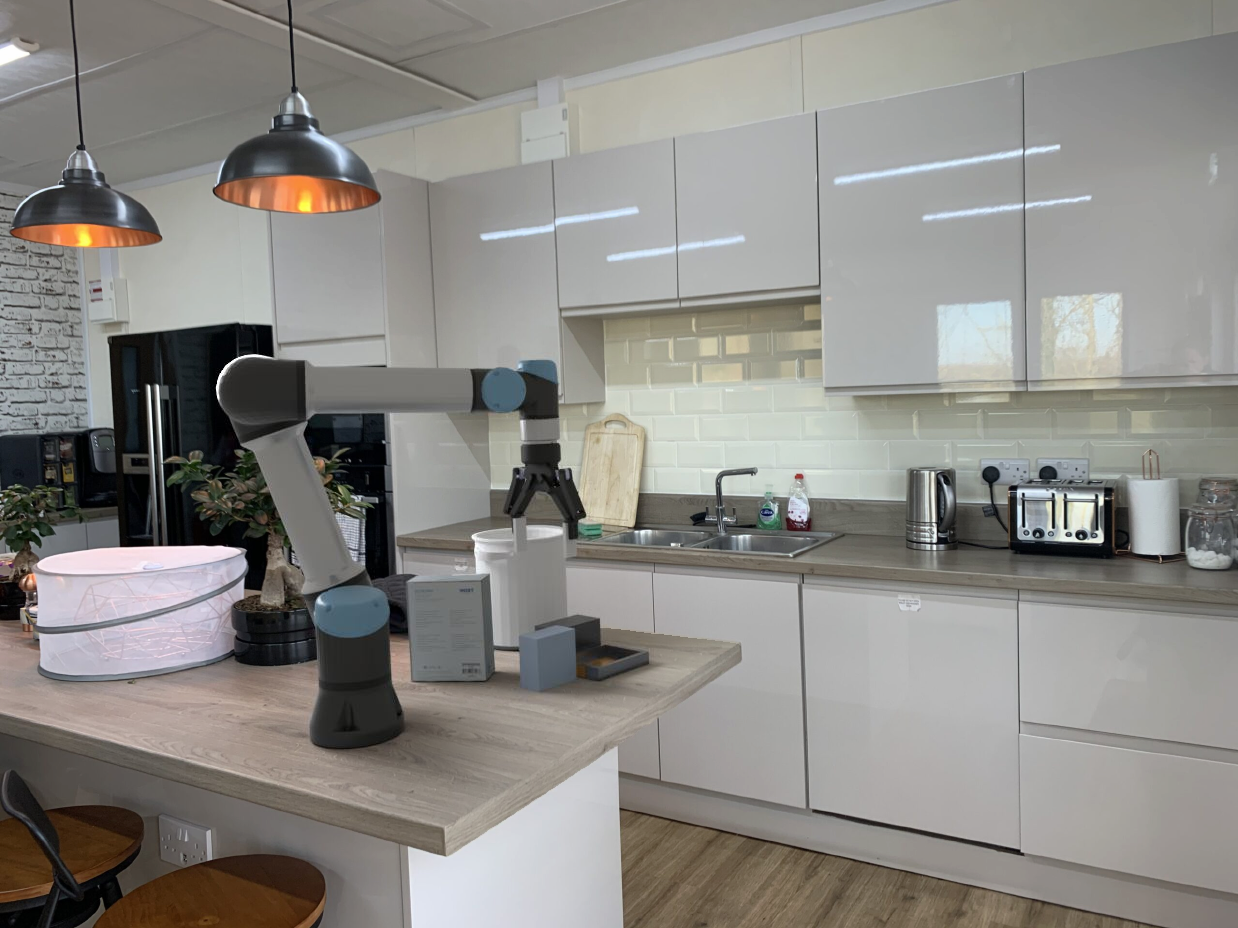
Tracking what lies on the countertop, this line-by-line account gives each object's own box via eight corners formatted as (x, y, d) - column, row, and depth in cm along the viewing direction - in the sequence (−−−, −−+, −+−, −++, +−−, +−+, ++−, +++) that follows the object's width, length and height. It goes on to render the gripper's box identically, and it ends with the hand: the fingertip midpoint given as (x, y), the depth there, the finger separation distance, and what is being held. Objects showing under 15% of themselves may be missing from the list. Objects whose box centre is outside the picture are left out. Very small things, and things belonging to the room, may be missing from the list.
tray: (598, 681, 179) (596, 640, 178) (527, 664, 192) (525, 626, 192) (649, 663, 190) (647, 624, 190) (578, 648, 203) (577, 612, 203)
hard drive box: (496, 670, 189) (492, 572, 187) (487, 681, 181) (483, 580, 180) (421, 670, 190) (416, 573, 189) (409, 682, 182) (404, 581, 181)
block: (538, 692, 173) (536, 639, 173) (520, 687, 177) (518, 635, 176) (576, 679, 181) (574, 628, 180) (558, 675, 184) (556, 625, 184)
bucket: (525, 659, 196) (521, 543, 195) (449, 647, 208) (444, 538, 207) (594, 632, 218) (591, 528, 216) (522, 623, 230) (518, 524, 228)
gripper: (602, 441, 170) (606, 556, 172) (511, 441, 187) (515, 546, 188) (573, 443, 165) (578, 562, 166) (482, 443, 181) (487, 551, 183)
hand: (545, 554), depth 177 cm, fingers open, 13 cm apart
